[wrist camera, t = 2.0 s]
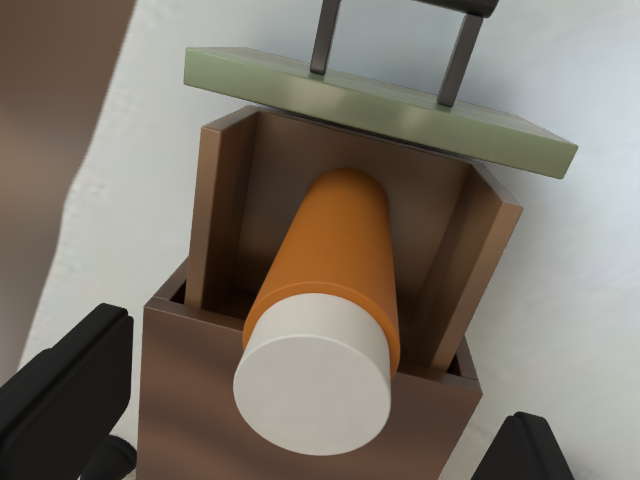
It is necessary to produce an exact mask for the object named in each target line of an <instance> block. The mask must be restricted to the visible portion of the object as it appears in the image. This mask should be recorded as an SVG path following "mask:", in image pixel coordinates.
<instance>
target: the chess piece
mask: <svg viewBox="0 0 640 480" xmlns="http://www.w3.org/2000/svg"><path fill="white" fill-rule="evenodd" d="M136 465H137V454H136V452H135V451H134V449H133V448H132V447H131V446H130V445H129V444H128V443H126V442H125V441H123V440H122V439H119V438H117V437H114V436H110V435H108V436H107V437H106V439H105V440H104V442H103V443H102V445H101V446H100V448H99V449H98V450H97V452H96V453H95V455H94V456H93V458H92V459H91V460H90V462H89V463H88V465H87V466H86V468H85V469H84V471H83V472H82V473H81V476H80V480H122V479H123V478H124V477H125V476H126V475H127V474H129V473H130V472H132V471H133V470H134V468H135V467H136Z"/></svg>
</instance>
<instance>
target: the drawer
mask: <svg viewBox="0 0 640 480" xmlns="http://www.w3.org/2000/svg"><path fill="white" fill-rule="evenodd" d="M341 1H342V0H323V4H322V9H321V14H320V19H319V24H318V29H317V34H316V39H315V44H314V49H313V54H312V60H311V64H310V63H306V62H302V61H298V60H294V59H290V58H286V57H282V56H278V55H274V54H270V53H266V52H262V51H258V50H254V49H250V48H246V47H198V48H186V55H185V69H184V84H185V85H188V86H192V87H196V88H200V89H204V90H208V91H212V92H216V93H220V94H224V95H228V96H232V97H236V98H240V99H243V100H247V101H251V102H255V103H259V104H263V105H267V106H271V107H275V108H279V109H283V110H287V111H291V112H295V113H299V114H303V115H307V116H311V117H315V118H319V119H323V120H327V121H331V122H335V123H339V124H343V125H346V126H350V127H354V128H358V129H362V130H366V131H370V132H374V133H378V134H382V135H386V136H390V137H394V138H398V139H402V140H406V141H410V142H414V143H418V144H422V145H426V146H430V147H434V148H438V149H442V150H445V151H449V152H453V153H457V154H461V155H465V156H469V157H473V158H477V159H481V160H485V161H489V162H493V163H497V164H501V165H505V166H509V167H513V168H517V169H521V170H525V171H529V172H533V173H537V174H541V175H545V176H548V177H552V178H556V179H563V177H564V175H565V173H566V171H567V169H568V167H569V165H570V163H571V161H572V159H573V157H574V155H575V153H576V151H577V149H578V146H577V145H576V144H574V143H572V142H569V141H567V140H565V139H563V138H561V137H559V136H557V135H555V134H553V133H551V132H549V131H547V130H545V129H543V128H541V127H539V126H537V125H535V124H533V123H531V122H529V121H527V120H525V119H523V118H521V117H519V116H517V115H513V114H509V113H505V112H501V111H497V110H493V109H489V108H485V107H481V106H477V105H473V104H469V103H465V102H461V101H457V100H455V99H456V96H457V94H458V91H459V88H460V85H461V82H462V79H463V76H464V74H465V71H466V68H467V65H468V62H469V59H470V57H471V54H472V51H473V48H474V45H475V42H476V39H477V37H478V34H479V31H480V28H481V25H482V22H483V18H489V17H490V16H491V15H492V13H493V12H494V10H495V8H496V6H497V4H498V1H499V0H413V1H417V2H421V3H425V4H429V5H433V6H438V7H442V8H446V9H450V10H454V11H458V12H462V13H466V15H465V16H464V18H463V21H462V24H461V27H460V30H459V33H458V36H457V39H456V42H455V45H454V48H453V51H452V54H451V57H450V60H449V63H448V66H447V70H446V73H445V76H444V79H443V82H442V85H441V88H440V91H439V94H438V96H437V95H433V94H429V93H426V92H422V91H418V90H414V89H410V88H406V87H402V86H398V85H394V84H390V83H386V82H382V81H378V80H374V79H370V78H366V77H362V76H358V75H354V74H350V73H346V72H342V71H338V70H334V69H330V68H327V66H328V62H329V57H330V52H331V48H332V43H333V38H334V34H335V29H336V24H337V20H338V15H339V10H340V6H341ZM337 168H353V169H357V170H361V171H363V172H366V173H367V174H369V175H371V176H372V177H373V178H375V179H376V180H377V181H378V182H379V183H380V185H381V186H382V187H383V189H384V191H385V193H386V196H387V199H388V203H389V215H390V227H391V240H392V252H393V264H394V277H395V289H396V302H397V314H398V327H399V339H400V360H399V361H403V362H406V363H410V364H414V365H418V366H422V367H426V368H429V369H433V370H437V371H441V372H445V373H446V372H447V370H448V368H449V365H450V363H451V361H452V359H453V357H454V355H455V353H456V351H457V348H458V346H459V344H460V342H461V340H462V338H463V336H464V334H465V332H466V329H467V327H468V325H469V323H470V321H471V319H472V317H473V315H474V312H475V310H476V308H477V306H478V304H479V302H480V300H481V298H482V295H483V293H484V291H485V289H486V287H487V285H488V283H489V281H490V278H491V276H492V274H493V272H494V270H495V268H496V266H497V264H498V261H499V259H500V257H501V255H502V253H503V251H504V249H505V247H506V245H507V242H508V240H509V238H510V236H511V234H512V232H513V230H514V228H515V225H516V223H517V221H518V219H519V217H520V215H521V213H522V211H523V207H522V206H521V205H520V204H519V203H518V202H517V201H516V200H515V198H514V197H513V196H512V195H511V194H510V193H509V192H508V191H507V190H506V189H505V187H504V186H503V185H502V184H501V183H500V182H499V181H498V180H497V179H496V178H495V176H494V175H493V174H492V173H491V172H490V171H489V170H488V169H487V168H486V167H485V165H484V164H482V163H478V162H474V161H470V160H466V159H462V158H458V157H454V156H450V155H446V154H442V153H438V152H434V151H430V150H426V149H422V148H418V147H415V146H411V145H407V144H403V143H399V142H395V141H391V140H387V139H383V138H379V137H375V136H371V135H367V134H363V133H359V132H355V131H351V130H347V129H343V128H339V127H335V126H331V125H327V124H323V123H319V122H316V121H312V120H308V119H304V118H300V117H296V116H292V115H288V114H284V113H280V112H276V111H272V110H268V109H264V108H260V107H256V106H252V105H247V106H245V107H243V108H241V109H239V110H237V111H235V112H233V113H230V114H228V115H226V116H224V117H222V118H220V119H217V120H215V121H213V122H211V123H209V124H207V125H204V126H202V128H201V137H200V147H199V158H198V168H197V178H196V188H195V199H194V209H193V219H192V230H191V240H190V250H189V261H188V271H187V281H186V291H185V302H184V305H187V306H191V307H195V308H199V309H203V310H206V311H210V312H214V313H218V314H222V315H226V316H230V317H233V318H237V319H241V320H245V321H246V319H247V317H248V314H249V312H250V310H251V308H252V306H253V304H254V302H255V300H256V298H257V295H258V293H259V291H260V289H261V287H262V285H263V283H264V281H265V279H266V277H267V274H268V272H269V270H270V268H271V266H272V264H273V262H274V260H275V258H276V255H277V253H278V251H279V249H280V247H281V245H282V243H283V241H284V239H285V236H286V234H287V232H288V230H289V228H290V226H291V224H292V222H293V220H294V218H295V215H296V213H297V211H298V209H299V207H300V205H301V203H302V201H303V199H304V196H305V194H306V192H307V190H308V189H309V187H310V185H311V184H312V183H313V182H314V181H315V180H316V179H317V178H318V177H319V176H320V175H322V174H324V173H325V172H328V171H330V170H333V169H337Z"/></svg>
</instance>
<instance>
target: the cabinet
mask: <svg viewBox="0 0 640 480" xmlns="http://www.w3.org/2000/svg"><path fill="white" fill-rule="evenodd" d="M188 261H189V256H188V257H187V258H186V260H185V261H184V262H183V263H182V264H181V265H180V266H179V267H178V268H177V270H176V271H175V272H174V273H173V274H172V275H171V276H170V277H169V279H168V280H167V281H166V282H165V283H164V284H163V285H162V286H161V288H160V289H159V290H158V291H157V292H156V293H155V294H154V295H153V297H152V298H151V299H150V300H149V301H148V302H147V303H146V304H145V305H144V313H143V335H142V357H141V378H140V400H139V422H138V444H137V466H136V480H437V479H438V477H439V475H440V473H441V471H442V470H443V468H444V466H445V464H446V462H447V460H448V459H449V457H450V455H451V453H452V451H453V449H454V447H455V446H456V444H457V442H458V440H459V438H460V436H461V434H462V433H463V431H464V429H465V427H466V425H467V423H468V421H469V420H470V418H471V416H472V414H473V412H474V410H475V408H476V407H477V405H478V403H479V401H480V399H481V397H482V395H483V393H482V390H481V386H480V383H479V382H478V377H477V374H476V370H475V367H474V364H473V361H472V357H471V354H470V351H469V348H468V344H467V341H466V338H465V335H464V336H463V338H462V340H461V342H460V344H459V346H458V348H457V351H456V353H455V355H454V357H453V359H452V361H451V363H450V365H449V368H448V370H447V372H446V373H445V372H441V371H437V370H433V369H429V368H426V367H422V366H418V365H414V364H410V363H406V362H403V361H399V364H398V368H397V370H396V373H395V375H394V376H393V378H392V380H391V410H390V414H389V417H388V420H387V422H386V424H385V426H384V427H383V429H382V430H381V432H380V433H379V434H378V435H377V436H376V437H375V438H374V439H372V440H371V441H370V442H369V443H367V444H365V445H364V446H362V447H360V448H358V449H355V450H353V451H350V452H346V453H342V454H337V455H327V456H317V455H307V454H302V453H297V452H293V451H290V450H287V449H284V448H282V447H279V446H277V445H275V444H273V443H271V442H270V441H268V440H266V439H265V438H263V437H262V436H261V435H259V434H258V433H257V432H256V431H255V430H254V429H252V428H251V427H250V425H249V424H248V423H247V422H246V421H245V419H244V418H243V416H242V415H241V413H240V411H239V409H238V407H237V405H236V401H235V398H234V391H233V381H234V376H235V373H236V370H237V367H238V365H239V363H240V360H241V358H242V356H243V353H244V350H243V342H242V339H243V329H244V324H245V322H246V321H245V320H241V319H237V318H233V317H230V316H226V315H222V314H218V313H214V312H210V311H206V310H203V309H199V308H195V307H191V306H187V305H184V302H185V291H186V281H187V271H188Z"/></svg>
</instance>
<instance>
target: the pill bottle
mask: <svg viewBox="0 0 640 480" xmlns="http://www.w3.org/2000/svg"><path fill="white" fill-rule="evenodd" d="M242 342H243V350H244V353H243V356H242V358H241V360H240V363H239V365H238V367H237V370H236V373H235V376H234V381H233V391H234V398H235V401H236V405H237V407H238V409H239V411H240V413H241V415H242V416H243V418H244V419H245V421H246V422H247V423H248V424H249V425H250V427H251V428H252V429H254V430H255V431H256V432H257V433H258V434H259V435H261V436H262V437H263V438H265V439H266V440H268V441H270V442H271V443H273V444H275V445H277V446H279V447H282V448H284V449H287V450H290V451H293V452H297V453H302V454H307V455H317V456H327V455H337V454H342V453H346V452H350V451H353V450H355V449H358V448H360V447H362V446H364V445H365V444H367V443H369V442H370V441H371V440H372V439H374V438H375V437H376V436H377V435H378V434H379V433H380V432H381V430H382V429H383V427H384V426H385V424H386V422H387V420H388V417H389V414H390V410H391V380H392V378H393V376H394V375H395V373H396V370H397V368H398V364H399V360H400V339H399V327H398V314H397V302H396V289H395V277H394V264H393V252H392V240H391V227H390V215H389V203H388V199H387V196H386V193H385V191H384V189H383V187H382V186H381V185H380V183H379V182H378V181H377V180H376V179H375V178H373V177H372V176H371V175H369V174H367V173H366V172H363V171H361V170H357V169H353V168H337V169H333V170H330V171H328V172H325V173H324V174H322V175H320V176H319V177H318V178H317V179H316V180H315V181H314V182H313V183H312V184H311V185H310V187H309V189H308V190H307V192H306V194H305V196H304V199H303V201H302V203H301V205H300V207H299V209H298V211H297V213H296V215H295V218H294V220H293V222H292V224H291V226H290V228H289V230H288V232H287V234H286V236H285V239H284V241H283V243H282V245H281V247H280V249H279V251H278V253H277V255H276V258H275V260H274V262H273V264H272V266H271V268H270V270H269V272H268V274H267V277H266V279H265V281H264V283H263V285H262V287H261V289H260V291H259V293H258V295H257V298H256V300H255V302H254V304H253V306H252V308H251V310H250V312H249V314H248V317H247V319H246V322H245V324H244V329H243V339H242Z"/></svg>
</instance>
